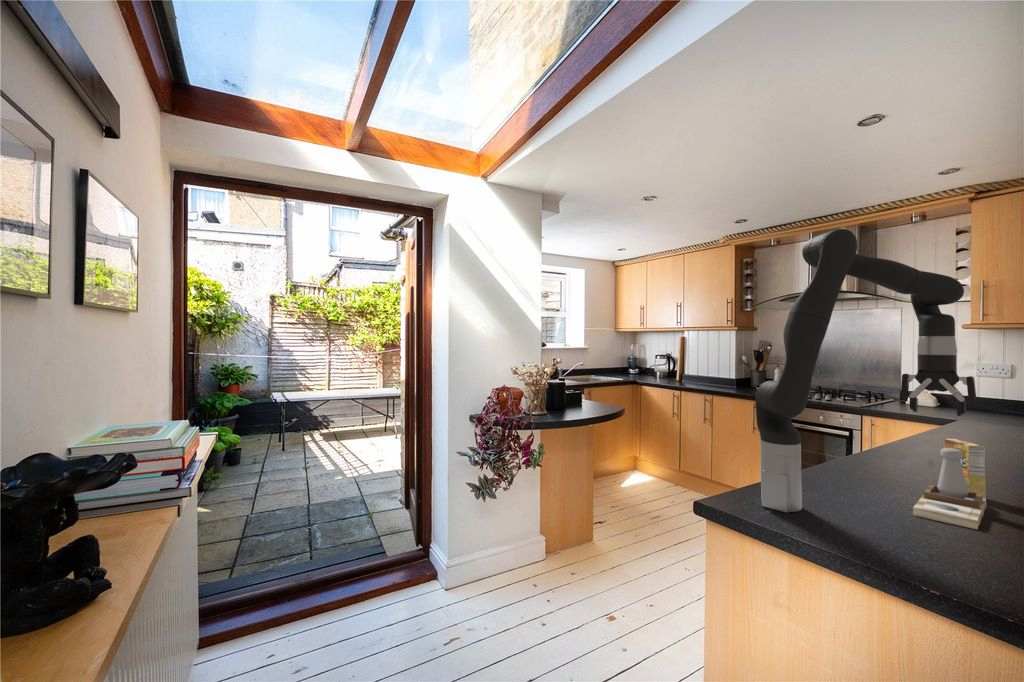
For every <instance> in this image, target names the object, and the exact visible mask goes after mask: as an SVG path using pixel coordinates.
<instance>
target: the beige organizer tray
mask: <svg viewBox="0 0 1024 682" xmlns="http://www.w3.org/2000/svg"><path fill="white" fill-rule="evenodd" d="M937 486H938V485H935V484H929V485H928V486H927V488H926V489H924V491H923V495H922V496H921V497H920V498H919V500H918V501H917V502H916V503H915V504H914V506H913V507H912V515H913V516H915V517H919V518H922V519H923V518H924V519H928V520H932V521H937V522H942V523H946V524H951V525H956V526H959V527H960V526H961V527H964V528H969V529H974V530H978V529H979V527H980V524H981V522H982V518H983V517H984V514H985V511H986V508H987V499H983V494H981V493H976V492H970V491H969V493H968V495H967V496H966V497H965V499H962V498H957V497H951V496H946V495H941V494H940V492H939V490H938V487H937Z"/></svg>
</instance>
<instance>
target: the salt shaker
mask: <svg viewBox="0 0 1024 682" xmlns="http://www.w3.org/2000/svg"><path fill="white" fill-rule="evenodd" d="M939 454H940V457H942V458H943V459H942V464H941V467H940V472H939V478H938V480H937V481H938V482H937V485H936V486H937V487H938V490H939V492H940V494H941V495H946V496H951V497H957V498H962V499H965V497H966V496H967V495H968V493H969V491H968V487H967V484H966V480H965V477H964V473H963V469H962V465H961V461H960V459H963V458H964V454H963V452H962V451H961V450H958V449H953V448H944V447H943V448H941V449H940V453H939Z"/></svg>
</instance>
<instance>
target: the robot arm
mask: <svg viewBox="0 0 1024 682" xmlns="http://www.w3.org/2000/svg"><path fill="white" fill-rule="evenodd" d="M801 250H802V251H801V253H802V257H803V260H804V261H805V262H806V264H808V265H809V266H810V267H812V268H816V270H815V272H814V275H813V277H812V279H811V281H810V282H809V284H808V285H807V286H806V288H805V289H804V290H803V291H802V293H801V294H800V295H799V296H798V297H797V299H796V300H795V302H794V304H792V306H791V308H790V311H789V313H788V316H787V319H786V322H785V326H784V329H783V343H784V344H783V345H784V351H785V361H784V367H783V369H782V372H781V375H780V378H779V380H766V381H765V382H763V383H761V384H760V385H759V387H758V388H757V391H756V393H755V413H756V414H755V416H756V427H757V430H758V432H759V437H760V439H759V441H760V489H761V490H760V492H761V493H760V494H761V495H760V496H761V506H762V507H764V508H768V509H772V510H774V511H775V510H776V511H779V512H783V513H787V514H788V513H790V512H792V513H793V512H801V511H802V509H803V501H802V500H803V492H802V444H801V443H802V436H801V433H800V431H799V430H798V429H797V428H796V427H795V426H794V424H793V422H792V418H796V417H798V416H799V415H801V414H802V413H803V412H804V410H805V408H806V407H807V403H808V402H809V401H808V400H809V397H810V391H811V386H812V381H813V377H814V371H815V367H816V364H817V362H818V358H819V354H820V351H821V347H822V344H823V341H824V339H825V337H826V334H827V331H828V328H829V325H830V322H831V319H832V314H833V311H834V307H835V306H836V303H837V300H838V297H839V294H840V291H841V288H842V286H843V284H844V282H845V279H846V276H850V277H853V278H857V279H861V280H863V281H866V282H870V283H872V284H875V285H878V286H881V287H883V288H885V289H888V290H890V291H893V292H896V293H897V294H902V295H910V301H911V302H910V303H911V304H912V308H913V310H914V313H915V316H916V318H917V319H916V320H917V321H918V341H917V372H916V374H909V373H903V374H902V375H901V385H900V394H901V395H902V396H905V397H908V398H909V409H910V410H912V412H913V413H917V412H919V409H918V408H919V398H918V396H919V395H920V394H921V393H923V392H924V391H925V390H926V391H928V392H933V391H936V392H944V393H945V392H949V393H950V394H951V395H952V396H953V397H955V398H956V399H957V400H958V401H956V416H957V417H962V415H965V413H966V411H967V406H966V404H967V401H974V400H976V399H977V393H976V383H975V377H974V376H959V375H958V365H957V364H958V363H957V357H958V354H957V353H958V349H957V340H956V320H955V317H954V316H953V315H952V314H946V313H942V312H941V310H940V309H941V308H940V307H939V306H943V305H951V304H955V303H957V302H958V301H960V300H961V299H962V298H963V297H964V293H965V287H964V285H963V284H962V283H961V282H960V281H959V280H958V279H956V278H954V277H951V276H949V275H945V274H939V273H936V272H930V271H924V270H919V269H917V268H915V267H913V266H909V265H908V264H905V263H902V262H899V261H895V260H892V259H886V258H879V257H874V256H868V255H867V256H866V255H864V254H863V255H862V254H858V253H857V251H858V239H857V236H856V235H855V234H854V232H852V231H851V230H849V229H846V228H837V229H833V230H830V231H828V232H824V233H821V234H819V235H816V236H814V237H812V238H810V239H809V240H807V241H806V242H805V244H804V245H803V247H802V249H801ZM914 379H915V380H916V381H917V383H918V384H919V385H918V386H917V387H916V388H915V389H914V390H912V391H910V390H909V389H910V388H909V387H910V383H912V382H913V380H914ZM959 381H961V383H962V384H963V385H965V386H966V388H967V395H963V394H962V392H960V390H959V389H958V388H957V387H956V385H957V384H958V383H959Z"/></svg>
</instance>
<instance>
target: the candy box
mask: <svg viewBox="0 0 1024 682" xmlns="http://www.w3.org/2000/svg"><path fill="white" fill-rule="evenodd" d="M943 442H944V444H943V445H944V446H943V448H953V449H958V450H961V451H962V452H963V454H964V458H963V459H960V461H961V465H962V469H963V473H964V477H965V480H966V484H967V487H968V491H970V492H976V493H981V494H983V499H986V496H987V495H986V493H987V491H986V489H987V488H986V446H985V445H983V444H978V443H976V442H975V443H974V442H970V441H966V440H963V439H958V438H944V439H943ZM986 500H987V499H986Z"/></svg>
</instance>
